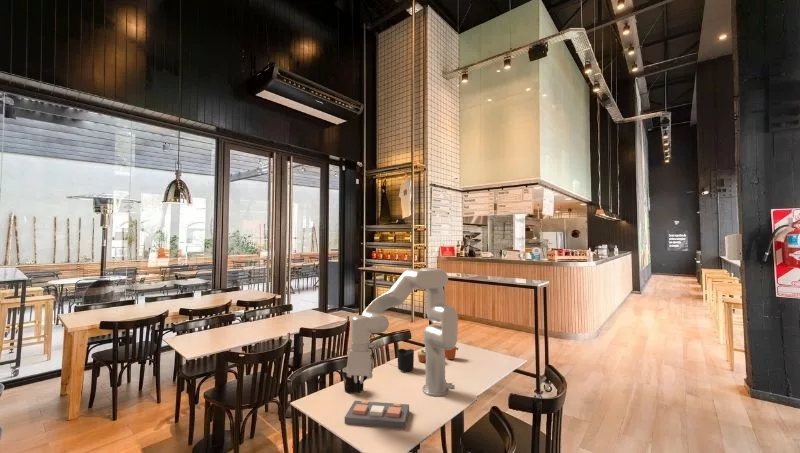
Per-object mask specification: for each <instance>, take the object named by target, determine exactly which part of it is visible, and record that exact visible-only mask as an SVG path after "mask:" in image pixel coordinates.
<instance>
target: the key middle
mask: <svg viewBox="0 0 800 453" xmlns="http://www.w3.org/2000/svg"><path fill="white" fill-rule="evenodd" d="M383 414H384V406H375V405H373V406H372V408H371V410H370V416H381V417H382V416H383Z"/></svg>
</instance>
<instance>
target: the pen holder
mask: <svg viewBox="0 0 800 453" xmlns="http://www.w3.org/2000/svg"><path fill="white" fill-rule="evenodd" d="M396 352H397V354H396V356H397V368H398V370H399V371H401V372H410V371H413V370H414V361H415V359H414V358H415V350H414V349H412V348H410V349H405V348H399V349H397V351H396Z"/></svg>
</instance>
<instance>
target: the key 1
mask: <svg viewBox="0 0 800 453" xmlns="http://www.w3.org/2000/svg"><path fill="white" fill-rule="evenodd" d="M367 411H368V405H361V404H356V406H355V407H354V409H353V414H355V415H366V413H367Z"/></svg>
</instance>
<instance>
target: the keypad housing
mask: <svg viewBox="0 0 800 453" xmlns="http://www.w3.org/2000/svg"><path fill="white" fill-rule="evenodd" d="M356 404H361V405H368V411H367V413H366V415H355V414H353V409H354V407H355V406H356ZM373 405H375V406H384V414H383V416H382V417H381V416H370V410H371V408H372V406H373ZM389 407H401V415H400V418H393V417H387V411H388V408H389ZM409 414H410V404H408V403H407V404H406V403H396V402H380V401H378V402H377V401H367V400H354V401H353V403H352V404H351V406H350V407H349V409H348V411H347V412H346V414H345V416H344V424H345V425H356V426H364V427H365V426H367V427H378V428H387V429H397V430H405V428H406V425H407V421H408V417H409Z"/></svg>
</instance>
